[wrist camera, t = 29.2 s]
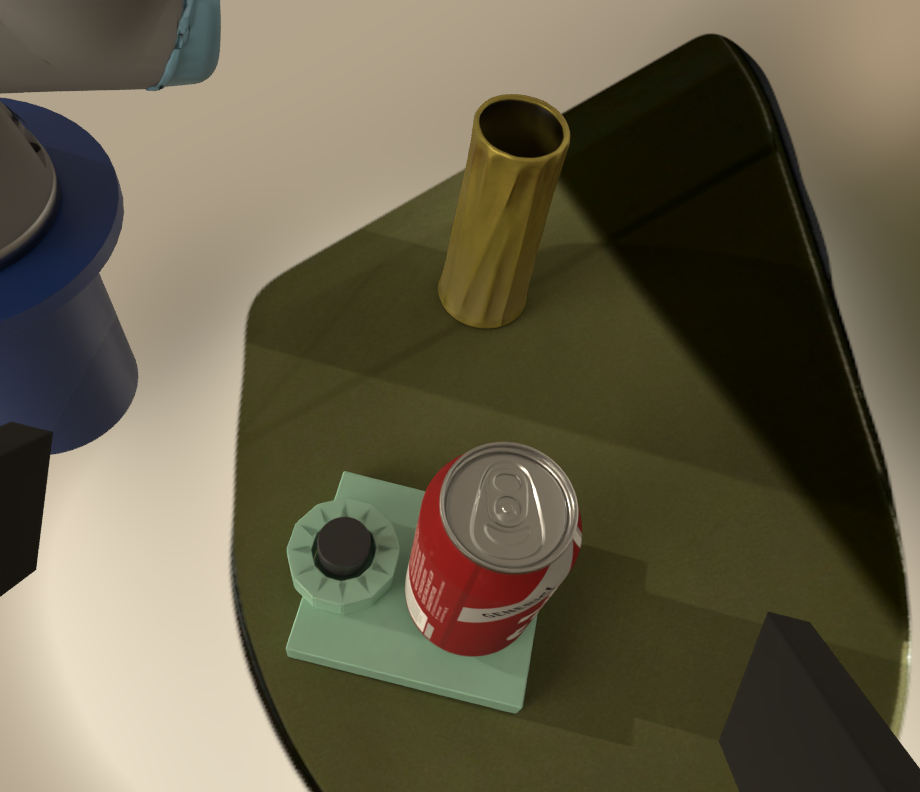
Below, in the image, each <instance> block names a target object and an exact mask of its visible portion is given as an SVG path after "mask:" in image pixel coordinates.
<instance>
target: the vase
mask: <svg viewBox="0 0 920 792" xmlns="http://www.w3.org/2000/svg"><path fill="white" fill-rule="evenodd" d="M569 143H570V131H569V127H568V124H567V122H566V120H565V119H564V117H563V116H562V115H561V113H560V112H559V111H558V110H557V109H555V108H554V107H552V106H551V105H550V104H548V103H547V102H545V101H542V100H540V99H537V98H534V97H530V96H525V95H517V94H507V95H500V96H496V97H493V98H491V99H488V100H487V101H485V102H484V103H483V104H482V105H481V106H480V107H479V109H478V110H477V111H476V113H475V116H474V121H473V129H472V137H471V143H470V149H469V153H468V159H467V164H466V168H465V173H464V178H463V183H462V187H461V192H460V196H459V201H458V206H457V211H456V215H455V219H454V223H453V228H452V233H451V237H450V242H449V247H448V252H447V257H446V262H445V265H444V269H443V272H442V275H441V277H440V279H439V283H438V294H439V297H440V300H441V303H442V305H443V306H444V308H445V309H446V311H447V312H448V313H449V314H450V315H451V316H452V317H454V318H455V319H456V320H458V321H460V322H462V323H464V324H466V325H469V326H472V327H477V328H497V327H502V326H504V325H507V324H509V323H511V322H512V321H514V320H515V319H516V318H517V317H518V316H519V315H520V314H521V312H522V311H523V309H524V307H525V304H526V300H527V292H528V288H529V284H530V280H531V276H532V272H533V268H534V264H535V259H536V255H537V252H538V249H539V245H540V242H541V238H542V235H543V231H544V227H545V223H546V219H547V216H548V212H549V209H550V205H551V201H552V198H553V194H554V191H555V188H556V185H557V182H558V179H559V176H560V172H561V169H562V165H563V162H564V159H565V156H566V153H567V150H568V147H569Z"/></svg>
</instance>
